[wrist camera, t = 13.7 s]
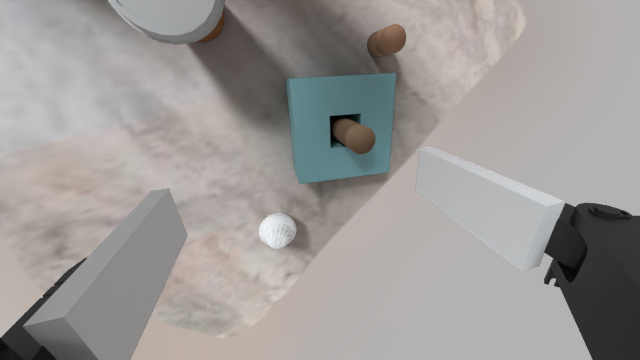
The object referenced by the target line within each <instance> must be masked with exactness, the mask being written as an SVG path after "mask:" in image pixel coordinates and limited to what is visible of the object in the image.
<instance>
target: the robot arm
mask: <svg viewBox="0 0 640 360" xmlns="http://www.w3.org/2000/svg"><path fill="white" fill-rule="evenodd" d="M415 192H417V193H418V194H420V195H421V196H422V197H423V198H425V199H426V200H428V201H429V202H430V203H432V204H433V205H434V206H435V207H437V208H438V209H440V210H441V211H442V212H444V213H445V214H446V215H448V216H449V217H450V218H452V219H453V220H454V221H456V222H457V223H458V224H460V225H461V226H462V227H464V228H465V229H466V230H468V231H469V232H470V233H472V234H473V235H474V236H476V237H477V238H478V239H480V240H481V241H482V242H484V243H485V244H486V245H488V246H489V247H490V248H492V249H493V250H494V251H496V252H497V253H498V254H500V255H501V256H502V257H504V258H505V259H506V260H508V261H509V262H510V263H512V264H513V265H515V266H516V267H517V268H518V269H520V270H521V271H523V270H527V269H531V268H534V267H538V266H539V265H540V262H541V260H542V257H543V255H544V253H546V254H548V255H549V256H551V257H552V258H553V260H552V263H551V265H550V267H549V269H548V272H547V274H546V276H545V278H544V284H549V282H550V280H551V279H552V278H556V282H555V284H554V286H556V287H560V289H561V291H562V293H563V295H564V297H565V300H566V302H567V304H568V306H569V308H570V311H571V313H572V315H573V317H574V319H575V322H576V324H577V326H578V328H579V331H580V332H581V335H582V337H583V339H584V341H585V344H586V346H587V348H588V350H589V353H590V355H591V357H592V359H593V360H640V216H632V215H631V214H629V213H628V212H626V211H623V210H620V209H617V208H614V207H611V206H607V205H601V204H595V203H582V204H579V205H577V206H576V207H574V206H571V205H569V204H566V203H565V201H563V200H560V199H557V198H555V197H553V196H550V195H548V194H546V193H543V192H541V191H538V190H536V189H534V188H531V187H529V186H526V185H524V184H521V183H519V182H517V181H514V180H512V179H509V178H507V177H505V176H502V175H500V174H497V173H495V172H492V171H490V170H488V169H485V168H483V167H480V166H478V165H475V164H473V163H471V162H468V161H466V160H463V159H461V158H459V157H456V156H454V155H451V154H449V153H446V152H444V151H442V150H439V149H437V148H434V147H432V146H431V147H425V148H420V149H419V158H418V168H417V178H416V188H415ZM187 236H188V235H187V232H186V230H185V227H184V225H183V222H182V220H181V217H180V215H179V212H178V210H177V207H176V205H175V202H174V200H173V197H172V194H171V192H170V189H169V188H168V189H161V190H155V191H151V192H150V193H149V194H148V195H147V196H146V197H145V198H144V199H143V200H142V201H141V202H140V203H139V205H138V206H137V207H136V208H135V209H134V210H133V211H132V212H131V213H130V214H129V215H128V216H127V217H126V218H125V219H124V220H123V221H122V222H121V223H120V224H119V226H118V227H117V228H116V229H115V230H114V231H113V232H112V233H111V234H110V235H109V236H108V237H107V238H106V239H105V240H104V241H103V242H102V243H101V244H100V245H99V247H98V248H97V249H96V250H95V251H94V252H93V253H92V254H91V255H90V256H89V257H88V258H85V259H83V260H82V261H81V262H79V263H78V264H76V265H75V266H73V267H72V268H71V269H69V270H68V271H67V272H66V273H65V274H64V275H63V276H62V277H61V278H60V279H59V280H58V281H57V282H56V283H55V284H54V286H53V287H51V288H50V289H49V290H48V291H47V292H46V293H45V294H44V295H43V298H40V299H39V300H38V301H37V302H36V303H35V304H34V305H33V306H32V307H31V308H30V309H29V310H28V311H27V312H26V313H25V314H24V315H23V316H22V317H21V318H20V319H19V320H18V321H17V322H16V323H15V324H14V325H13V326H12V327H11V328H10V329H9V330H8V331H7V332H6V333H5V334H4V335H3V336H2V337H1V338H0V360H131V357H132V355H133V353H134V351H135V349H136V347H137V344H138V342H139V340H140V338H141V336H142V333H143V331H144V329H145V327H146V325H147V323H148V320H149V318H150V316H151V314H152V312H153V310H154V307H155V305H156V303H157V301H158V299H159V297H160V294H161V292H162V290H163V288H164V286H165V284H166V281H167V279H168V277H169V275H170V273H171V270H172V268H173V266H174V264H175V262H176V260H177V257H178V255H179V253H180V251H181V249H182V247H183V244H184V242H185V240H186V238H187Z"/></svg>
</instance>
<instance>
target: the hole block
mask: <svg viewBox="0 0 640 360" xmlns="http://www.w3.org/2000/svg"><path fill="white" fill-rule="evenodd" d="M395 83H396V73H383V74H365V75H346V76H327V77H308V78H289V79H286V89H287V99H288V109H289V119H290V129H291V139H292V149H293V159H294V169H295V173H296V176H297V179H298V181H299V184H305V183H312V182H320V181H327V180H334V179H342V178H349V177H357V176H364V175H372V174H379V173H386V172H389V167H390V153H391V139H392V125H393V111H394V97H395ZM336 115H347V119H350V120H352V121H354V122H357V123H359V124H361V125H364V126H366V127H368V128H370V129H372V130H373V132H374V134H375V137H376V140H375V144H374V146H373V148H372V149H371V150H370V151H369V152H368V153H365V154H357V153H355V152H353V151H352V150H351V149H349V148H348V147H347V146H345V145H344V144H343V143H342V142H340V141H339V140H338V139H336V138H330V116H336Z"/></svg>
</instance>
